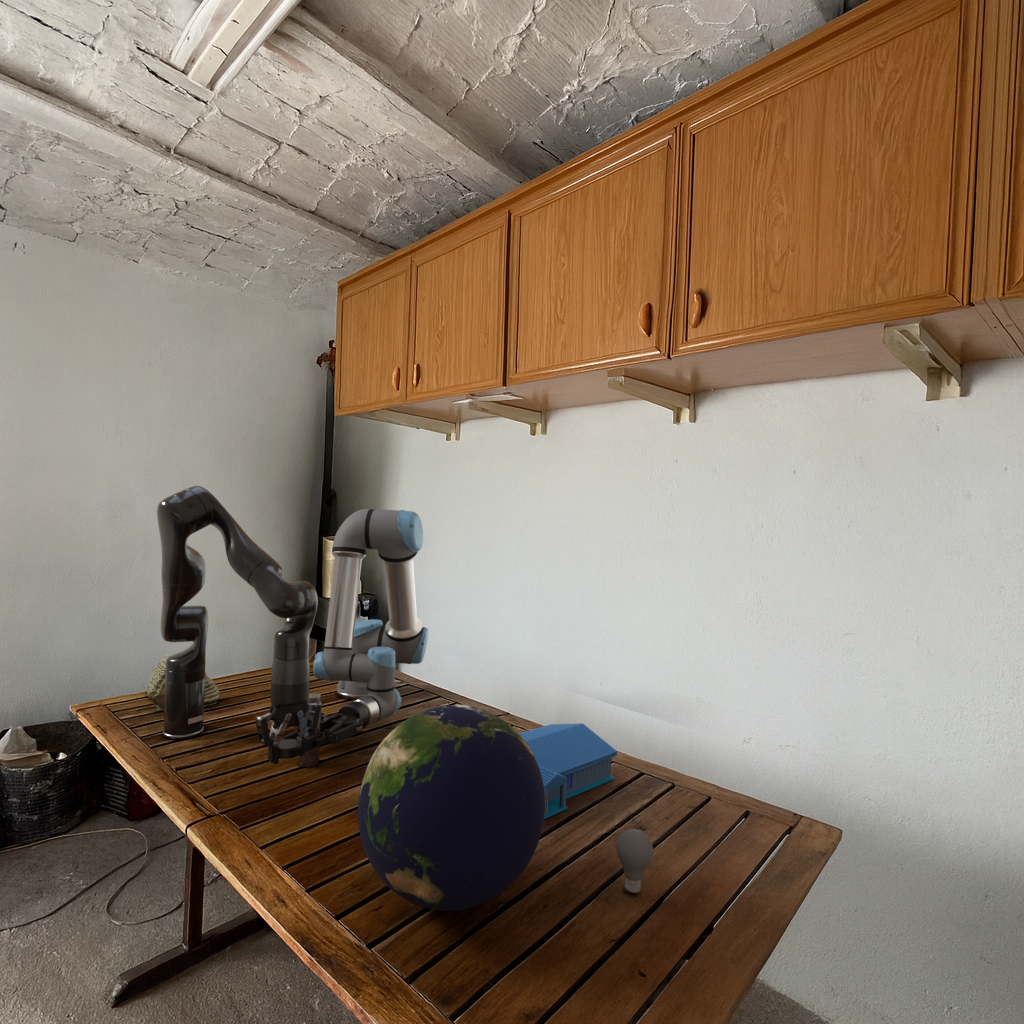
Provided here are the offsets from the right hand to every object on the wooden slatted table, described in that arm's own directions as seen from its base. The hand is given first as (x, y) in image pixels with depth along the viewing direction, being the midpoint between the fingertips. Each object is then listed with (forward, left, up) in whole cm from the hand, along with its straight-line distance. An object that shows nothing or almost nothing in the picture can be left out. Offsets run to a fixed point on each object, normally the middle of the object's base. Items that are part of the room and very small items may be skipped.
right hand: (293, 744), depth 145 cm
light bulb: (+40, +70, -6) cm, 81 cm away
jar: (-5, +2, -6) cm, 8 cm away
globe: (+43, +40, -6) cm, 59 cm away
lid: (+13, +3, +5) cm, 15 cm away
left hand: (+13, +3, +2) cm, 14 cm away
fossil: (-40, -45, -6) cm, 61 cm away
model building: (+4, +54, -6) cm, 54 cm away
